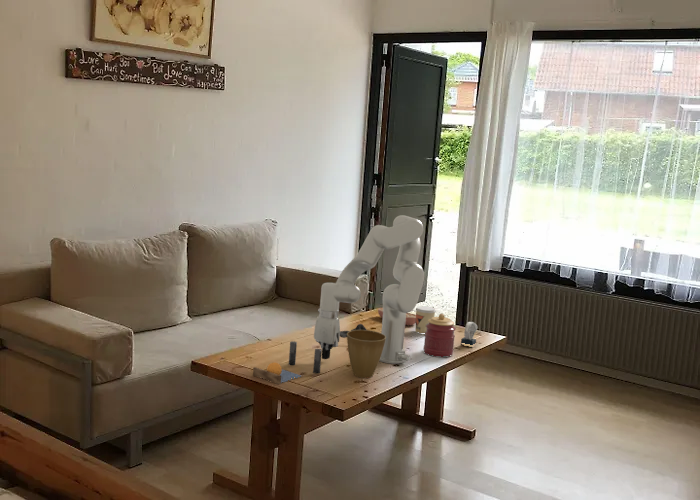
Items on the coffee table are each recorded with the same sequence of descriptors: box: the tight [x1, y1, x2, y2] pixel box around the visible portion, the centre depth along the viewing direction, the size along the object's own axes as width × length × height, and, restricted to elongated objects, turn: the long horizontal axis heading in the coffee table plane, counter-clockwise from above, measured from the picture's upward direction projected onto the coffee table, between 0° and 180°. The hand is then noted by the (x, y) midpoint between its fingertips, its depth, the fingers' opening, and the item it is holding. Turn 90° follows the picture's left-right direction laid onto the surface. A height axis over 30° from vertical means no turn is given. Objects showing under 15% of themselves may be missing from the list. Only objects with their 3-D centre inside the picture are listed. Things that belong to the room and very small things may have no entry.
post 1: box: [288, 340, 298, 366], centre depth 298 cm, size 3×3×9 cm
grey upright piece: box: [460, 321, 478, 345], centre depth 347 cm, size 6×8×11 cm
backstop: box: [252, 366, 282, 385], centre depth 278 cm, size 13×1×3 cm, turn 53°
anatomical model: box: [377, 307, 416, 326], centre depth 381 cm, size 23×10×5 cm, turn 50°
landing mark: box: [280, 368, 302, 384], centre depth 284 cm, size 12×12×1 cm
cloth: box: [340, 323, 367, 339], centre depth 349 cm, size 22×19×6 cm
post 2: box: [312, 348, 322, 374], centre depth 291 cm, size 3×3×9 cm
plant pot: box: [346, 329, 386, 379], centre depth 291 cm, size 15×15×16 cm
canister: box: [423, 313, 456, 358], centre depth 330 cm, size 13×13×18 cm
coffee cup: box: [415, 305, 436, 333], centre depth 364 cm, size 9×9×12 cm
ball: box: [266, 362, 283, 375], centre depth 282 cm, size 6×6×6 cm
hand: (325, 358), depth 305 cm, fingers closed
